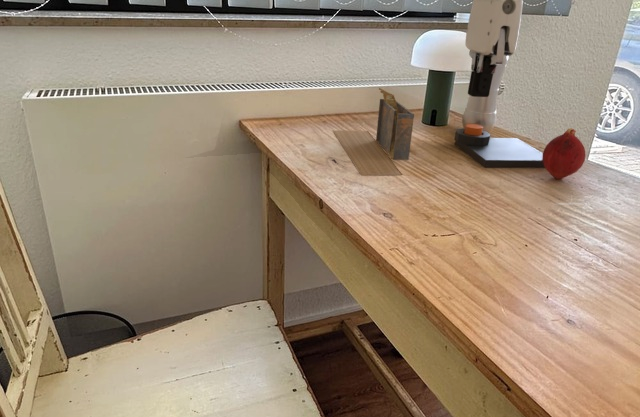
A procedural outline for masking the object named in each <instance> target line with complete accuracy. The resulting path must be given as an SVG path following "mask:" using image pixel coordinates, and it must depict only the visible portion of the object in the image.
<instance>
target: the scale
mask: <svg viewBox="0 0 640 417" xmlns="http://www.w3.org/2000/svg"><path fill="white" fill-rule="evenodd" d="M464 131H465V128H463V127H462V128H457V129H456V130H455V134H454V139H453V140H454V145H455V146H456V147H457V148H458V149H460V150H461V151H463V152H464V153H465V154H466V155H467V156H469V157H470V158H471V159H472V160H473V161H475V162H476V163H477V164H479V166H481V167H483V168H484V169H546V168H545V166H544V163H543V159H542V157H543V151H542V152H541V151H540V150H538V149H536V148H535V147H533V146H532V145H530V144H528V143H526V142H525V141H523V140H521V139H519V138H517V137H491V133H488V132H486V131H482V135H480V136H475V135H468V134H465V133H464Z"/></svg>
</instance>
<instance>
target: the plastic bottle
mask: <svg viewBox="0 0 640 417" xmlns="http://www.w3.org/2000/svg"><path fill="white" fill-rule="evenodd" d="M491 53H494V52H491ZM508 61H509V56H505V55H504V60H503V63H502V64H500V65H497V66H496V70H495V73H494V74H493V77H492V82H491V88H490V93H489V96H488V97H473V96H471V95H469V94H468V99H467V102H466V107H465V109H464V111H463V115H462V118H461V122H462V124H461V125H462V128H465V125H467V124H476V125H480V126H482V127H483V130H482V131H486V132H488V133H489V134H491V132H492V131H493V130H494V128H495V125H496V123H497V105H498V98H499V91H500V87H501V84H502V79H503V76H504V73H505V71H506V67H507V64H508Z"/></svg>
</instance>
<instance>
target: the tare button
mask: <svg viewBox="0 0 640 417" xmlns="http://www.w3.org/2000/svg"><path fill="white" fill-rule="evenodd" d="M482 130H483V127H482V126H480V125H476V124H467V125H465V131H464V133H465V134H468V135H475V136H480V135H482Z"/></svg>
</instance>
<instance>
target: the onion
mask: <svg viewBox="0 0 640 417" xmlns="http://www.w3.org/2000/svg"><path fill="white" fill-rule="evenodd" d="M576 132H577V131H576V130H575V129H574V128H573V127H571V128H567V129H566V130H565V132H564V133H563V134H560V135H557V136H555V137H554V138H553V139H550V141H549V142H548V143H547V144H546V146H545V147H544V149H543V151H542V153H543V157H542V159H543V163H544V166H545V168H544V169H545V171H547V172H548V173H549V175H551V176H552V177H553V178H554V179H555V180H562V179H564V178H567V177H569V176H571V175H574V174H575V173H577V172H578V171H579V170H580V169H581V168H582V167H583V166H584V163H585V160H586V149H585V146H584V144H583V143H582V141H581V139H580V138H578V136H576V134H575V133H576Z"/></svg>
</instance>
